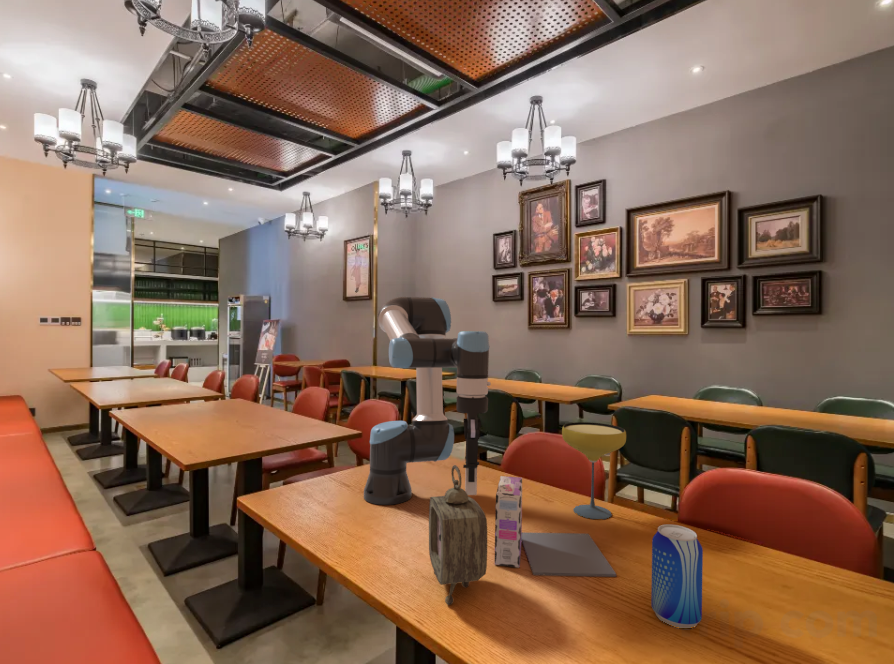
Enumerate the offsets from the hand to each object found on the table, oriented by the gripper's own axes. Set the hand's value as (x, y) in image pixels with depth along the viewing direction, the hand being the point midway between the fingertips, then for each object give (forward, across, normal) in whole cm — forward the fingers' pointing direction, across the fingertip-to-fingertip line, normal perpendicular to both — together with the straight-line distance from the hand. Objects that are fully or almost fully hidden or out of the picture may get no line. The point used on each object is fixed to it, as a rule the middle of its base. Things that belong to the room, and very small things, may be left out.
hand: (470, 493), depth 109 cm
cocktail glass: (+14, +26, -37) cm, 48 cm away
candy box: (+14, 0, -9) cm, 17 cm away
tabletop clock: (+14, -16, +3) cm, 21 cm away
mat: (+14, 0, -22) cm, 26 cm away
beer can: (+14, -24, -38) cm, 47 cm away
